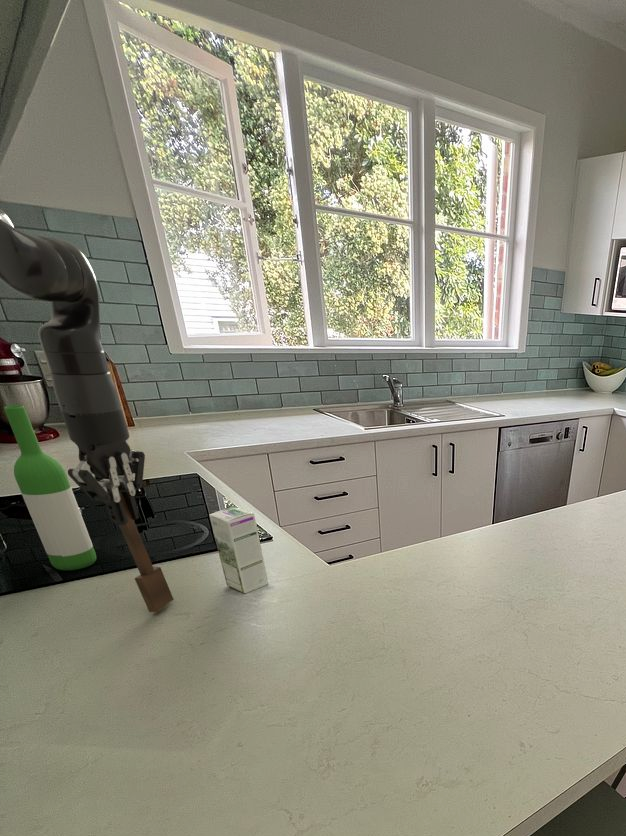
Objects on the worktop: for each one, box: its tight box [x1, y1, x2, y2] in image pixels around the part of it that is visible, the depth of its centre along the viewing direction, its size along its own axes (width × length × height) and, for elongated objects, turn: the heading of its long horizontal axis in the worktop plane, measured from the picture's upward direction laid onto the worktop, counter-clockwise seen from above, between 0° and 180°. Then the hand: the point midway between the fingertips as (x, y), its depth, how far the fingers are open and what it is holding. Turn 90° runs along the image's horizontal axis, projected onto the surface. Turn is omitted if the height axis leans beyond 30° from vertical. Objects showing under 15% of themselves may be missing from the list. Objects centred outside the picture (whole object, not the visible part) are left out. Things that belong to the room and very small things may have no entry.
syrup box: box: [208, 506, 269, 594], centre depth 101 cm, size 6×6×14 cm
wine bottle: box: [3, 404, 97, 572], centre depth 102 cm, size 8×8×30 cm
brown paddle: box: [118, 492, 174, 613], centre depth 91 cm, size 20×5×1 cm
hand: (126, 520), depth 88 cm, fingers closed on brown paddle, 2 cm apart
